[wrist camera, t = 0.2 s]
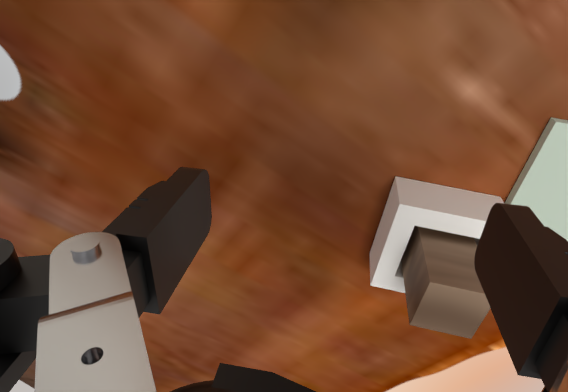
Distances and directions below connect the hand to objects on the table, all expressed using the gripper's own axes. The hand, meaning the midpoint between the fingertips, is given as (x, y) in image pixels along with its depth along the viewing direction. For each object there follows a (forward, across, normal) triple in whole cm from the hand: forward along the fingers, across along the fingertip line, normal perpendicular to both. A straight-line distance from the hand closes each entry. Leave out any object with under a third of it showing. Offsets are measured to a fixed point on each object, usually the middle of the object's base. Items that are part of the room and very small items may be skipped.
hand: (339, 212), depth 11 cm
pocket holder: (+18, -8, +11) cm, 23 cm away
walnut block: (+18, -8, +11) cm, 23 cm away
